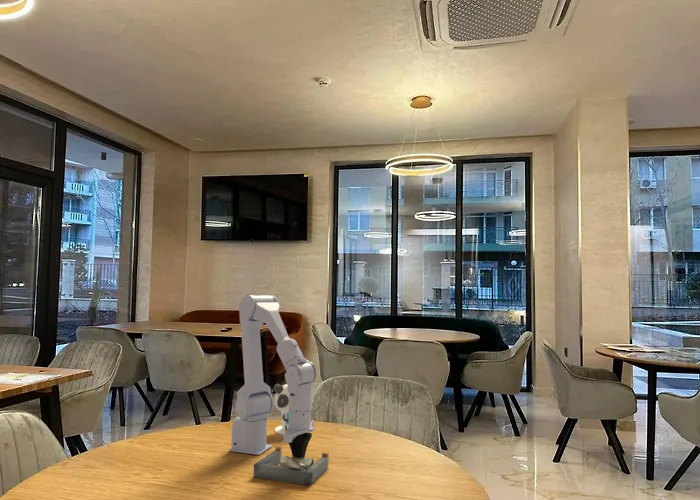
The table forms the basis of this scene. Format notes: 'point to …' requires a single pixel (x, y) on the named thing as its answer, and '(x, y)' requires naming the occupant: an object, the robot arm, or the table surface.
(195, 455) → the table surface
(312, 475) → the grey u-shaped frame
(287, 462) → the pipe fitting
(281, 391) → the panda figurine
